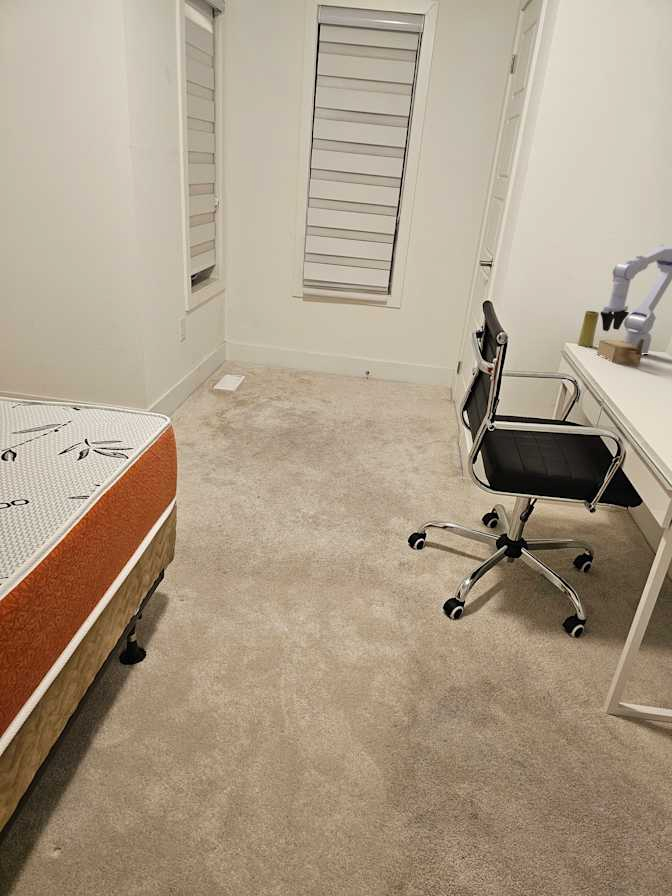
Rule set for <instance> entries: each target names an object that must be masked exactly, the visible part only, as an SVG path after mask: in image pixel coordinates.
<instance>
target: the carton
mask: <svg viewBox="0 0 672 896" xmlns="http://www.w3.org/2000/svg"><path fill="white" fill-rule="evenodd" d="M616 347H619V348H623V349H628V350H632V351H636V349H637V346H635V345H632V344H630V343H627V342H625V341H624V340H617V339H616V340H615V339H613V340H611V339H600V340H599V343H598V347H597V351H596V354H597V353H598V354H600V355H602V356H604V357H605V358H607V359H609V360H611V361H613V358H614V353H615V349H616ZM605 358H604V359H605ZM607 359H606V360H607ZM609 360H608V361H609ZM611 361H610V362H611Z"/></svg>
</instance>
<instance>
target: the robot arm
mask: <svg viewBox="0 0 672 896" xmlns="http://www.w3.org/2000/svg"><path fill="white" fill-rule="evenodd" d="M655 262H656V265H657V268H658V269H659V270H660V272H659V274H658V276H657V277H656V279H655V280H654V282H653V284H652V286H651V287H650V289H649V290H648V292H647V294H646V295H645V297H644V299H643V300H642V302H641V304H640V305H639V306H637V307H635V308H633V309H632V310H631V311H630V312H629V311H628V309H629V306H628V305H626V301H627V297H628V292H629V288H630V285H631V280H633V279H634V278H635V277H636V275H637V274H638V273H641V272H643V271H645V270H646V269H647V268H648V267H649V265H650V264H653V263H655ZM612 277H613V278H612V283H613V286H612V288H611V293H610V298H609V302H608V304H606V305H605V306H604V307H603V311H600V316H601V321H602V322H601V323H602V331H605V332H609V330H610V328H611V326H613V327H612V328H613V330H617V331H618V330H620V328H621V326H622V324H623V327H624V328H625V331H626V332H625V336H624V340H623V341H625V342H627V343H630V344H632V345H635V346H637V345H638V341H639V339H644V343H643V347H642V350H641V353H648V354H649V349H650V345H651V342H652V335H651V333H649V332H651V330H652V329H653V326H654V322H655V321H656V319H657V317H656V315H655V313H654V310H655V309H656V307H657V305H658V304H659V302H660V301H661V299H662V297H663V296H664V294H665V292H666V290H667V288H668V287H669V285H670V283H671V282H672V245H666V244H660V245H657V246H656V247H655V249H654V250H653V251H650V252H649V253H648V254H646V255H642V254H637V255H635V257H634V258H632V259H628V260H627V261H626V262H620V263H617V264H616V265H615V266H614V268H613V269H612ZM612 322H613V325H612Z"/></svg>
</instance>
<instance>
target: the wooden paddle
mask: <svg viewBox="0 0 672 896" xmlns="http://www.w3.org/2000/svg"><path fill="white" fill-rule="evenodd" d="M643 343H644V339H639V341H638V345H637V349H636V351H632V350H628V349H623V348H619V347H616V349H615V353H614V358H613V362H612V363H615V364H620V365H624V366H629V367H633V368H636V369H639V367H640V363H641V360H642V356H643V355H642V353H641V350H642V347H643Z"/></svg>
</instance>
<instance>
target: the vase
mask: <svg viewBox="0 0 672 896" xmlns="http://www.w3.org/2000/svg"><path fill="white" fill-rule="evenodd" d="M599 316H600V313H599V312H598V311H595V310H593V311H592V310H586V311H585V314H584V317H583V322H582V323H583V324H582V327H581V330H580V335H579V339H578V342H577V345H578V346H580V345H583V346H582V347H584V346H592V347H594V346H593V345H594V341H595V340H594V339H595V335H596V334H595V333H596V328H597V324H598V320H599Z"/></svg>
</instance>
